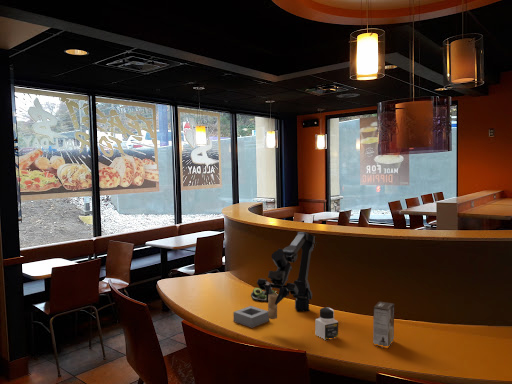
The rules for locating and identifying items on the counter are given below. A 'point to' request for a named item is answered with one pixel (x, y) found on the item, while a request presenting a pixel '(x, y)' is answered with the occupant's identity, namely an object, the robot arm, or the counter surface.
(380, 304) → the coffee box
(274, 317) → the oak peg
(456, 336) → the counter surface
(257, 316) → the socket block
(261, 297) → the salad plate
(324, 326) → the medicine bottle
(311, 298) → the robot arm
